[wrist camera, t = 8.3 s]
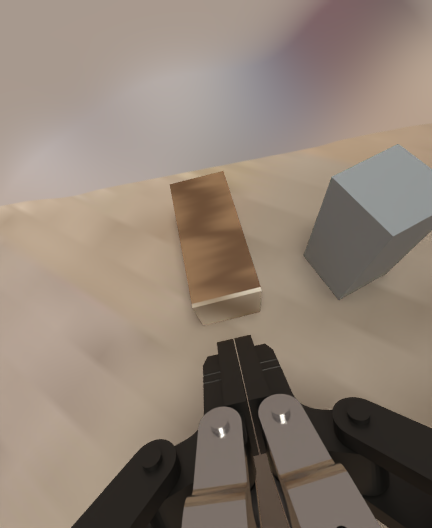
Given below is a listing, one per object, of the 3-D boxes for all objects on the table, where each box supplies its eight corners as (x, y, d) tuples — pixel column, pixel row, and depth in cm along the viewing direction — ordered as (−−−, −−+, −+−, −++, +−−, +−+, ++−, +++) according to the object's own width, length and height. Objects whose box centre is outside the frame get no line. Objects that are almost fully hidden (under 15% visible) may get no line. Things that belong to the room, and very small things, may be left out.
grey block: (347, 232, 26) (398, 143, 17) (386, 273, 24) (467, 196, 15) (303, 255, 25) (331, 176, 16) (338, 300, 23) (393, 236, 14)
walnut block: (259, 311, 23) (227, 206, 29) (261, 290, 19) (223, 171, 24) (203, 325, 23) (182, 217, 29) (192, 307, 19) (169, 184, 25)
